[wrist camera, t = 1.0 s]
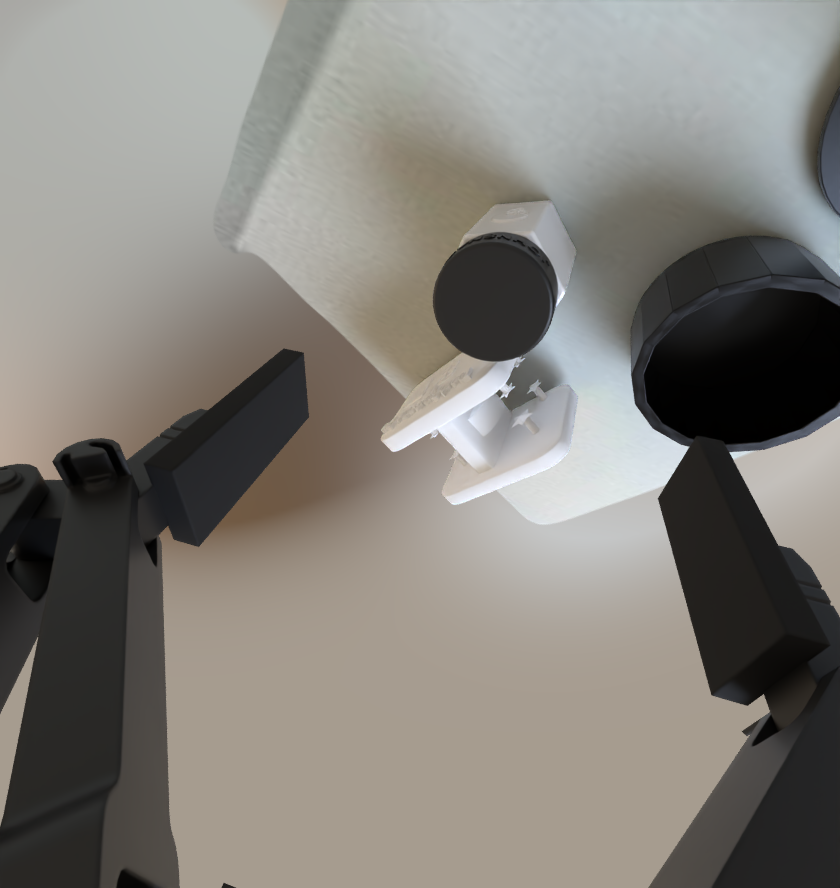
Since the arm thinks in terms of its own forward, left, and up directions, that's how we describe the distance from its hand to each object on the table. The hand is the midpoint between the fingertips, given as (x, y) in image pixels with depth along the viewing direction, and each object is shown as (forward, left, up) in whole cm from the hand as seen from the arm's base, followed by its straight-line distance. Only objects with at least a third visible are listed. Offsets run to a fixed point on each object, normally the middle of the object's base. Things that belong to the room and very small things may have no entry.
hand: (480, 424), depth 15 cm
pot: (+1, +15, -28) cm, 32 cm away
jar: (+4, -2, -28) cm, 28 cm away
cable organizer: (+17, +2, -28) cm, 32 cm away
